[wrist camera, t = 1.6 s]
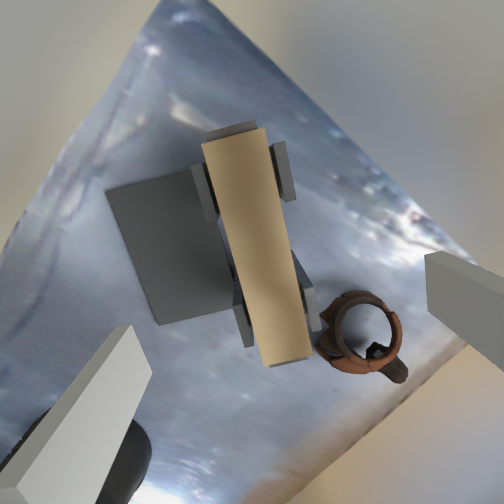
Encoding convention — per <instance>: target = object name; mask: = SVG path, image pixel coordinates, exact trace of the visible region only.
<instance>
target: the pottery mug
mask: <svg viewBox="0 0 504 504" xmlns="http://www.w3.org/2000/svg"><path fill="white" fill-rule="evenodd" d="M363 303H367V304H371V305H374V306H376V307H379V308H380V309H381V310H382V311H383V312H384V313H385V314H386V316H387V318H388V320H389V322H390V325H391V330H392V338H391V343H390V345H389V347H385V346H383V345H381V344H378V343H377V342H373V343H372V344H371V346H370V347H368V348H367V349H366V358H365V359H364V358H362V357H361V356H360V355H358V354H357V353H356V352H355V351H352V352H351V351H350V350H349V349H348V348H347V346H346V345H345V343H344V341H343V337H342V333H341V323H342V320H343V318H344V315H345V314H346V312H347V311H348V310H349V309H350V308H351V307H353V306H355V305H358V304H363ZM319 316H320V317H321V318H322V319H323V320H324V321H325V322H326V323H327V324H328V325H329V326H330V328H329V329H326V330H325V331H324V333H323V335H322V337H321V338H320V339H319V342H320V346H321V348H324V349H328V350H330V351H332V352H335V353H338V354H340V355H343V356H332V355H329V354H327V353H326V352H324V351H323V350H322V349H321V348H320V347H319V346H318V345H317V344H315V345H314V346H315V348H316V350H317V352H318V353H319V355H320V356H321V357H323V358H324V359H325V360H326V361H328V362H329V363H330V364H331V366H332V367H334V368H336V369H338V370H340V371H342V372H346V373H351V374H367V373H369V372H375V371H378V372H381V373H383V374H384V375H385V376H386V377H388V378H389V379H390V380H391V381H393V382H394V383H398V384H401V383H403V382H405V381H406V378H407V377H408V369H407V367H406V366H405V364H404V363H403V362H402V361H401V360H400V359H399V358H398V356H397V354H398V352H399V349H400V346H401V342H402V327H401V323H400V320H399V318H398V316H397V315H396V313H395V312H391V311H390V310H389V309H388V308H387V306H386V305H385V303H384V302H383V301H382V300H381V299H380V298H378V297H377V296H375V295H373V294H372V293H370V292H368V291H350V292H347V293H343V294H342V295H341V297H337V298H336V299H335V300H334V301H333V302H332V304H331V305H330V306H329V307H328V308H327V309H326V310H325V311H323V312H322V313H320V314H319Z"/></svg>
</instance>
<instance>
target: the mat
mask: <svg viewBox="0 0 504 504" xmlns="http://www.w3.org/2000/svg"><path fill="white" fill-rule="evenodd" d="M106 195H107V197H108V200H109V202H110V205H111V207H112V210H113V212H114V215H115V217H116V220H117V222H118V225H119V227H120V230H121V232H122V235H123V237H124V240H125V242H126V245H127V247H128V250H129V252H130V255H131V258H132V260H133V263H134V265H135V268H136V270H137V273H138V275H139V278H140V280H141V283H142V285H143V288H144V290H145V293H146V295H147V298H148V300H149V303H150V305H151V308H152V310H153V313H154V315H155V318H156V320H157V323H158V325H159V326H160V325H164V324H168V323H172V322H176V321H181V320H185V319H189V318H193V317H197V316H202V315H206V314H210V313H214V312H218V311H223V310H227V309H231V308H233V307H232V304H233V291H234V279H233V276H232V272H231V269H230V265H229V262H228V259H227V255H226V252H225V248H224V245H223V241H222V238H221V234H220V231H219V227H218V224H217V221H216V220H213V221H209V222H207V220H206V217H205V214H204V210H203V207H202V204H201V200H200V197H199V194H198V190H197V187H196V184H195V180H194V177H193V174H192V170H188V171H184V172H180V173H177V174H173V175H169V176H165V177H161V178H157V179H154V180H150V181H146V182H142V183H138V184H135V185H131V186H127V187H123V188H119V189H115V190H112V191H108V192H106Z"/></svg>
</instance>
